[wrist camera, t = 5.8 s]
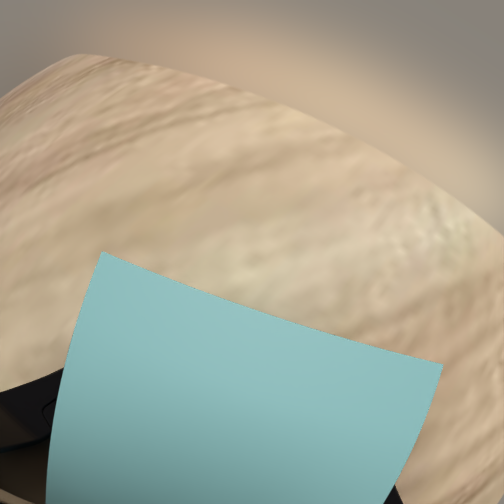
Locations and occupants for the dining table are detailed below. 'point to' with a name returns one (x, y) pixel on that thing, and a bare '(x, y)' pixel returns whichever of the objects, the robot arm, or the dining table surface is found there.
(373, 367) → the teal block
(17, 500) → the robot arm
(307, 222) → the dining table surface
